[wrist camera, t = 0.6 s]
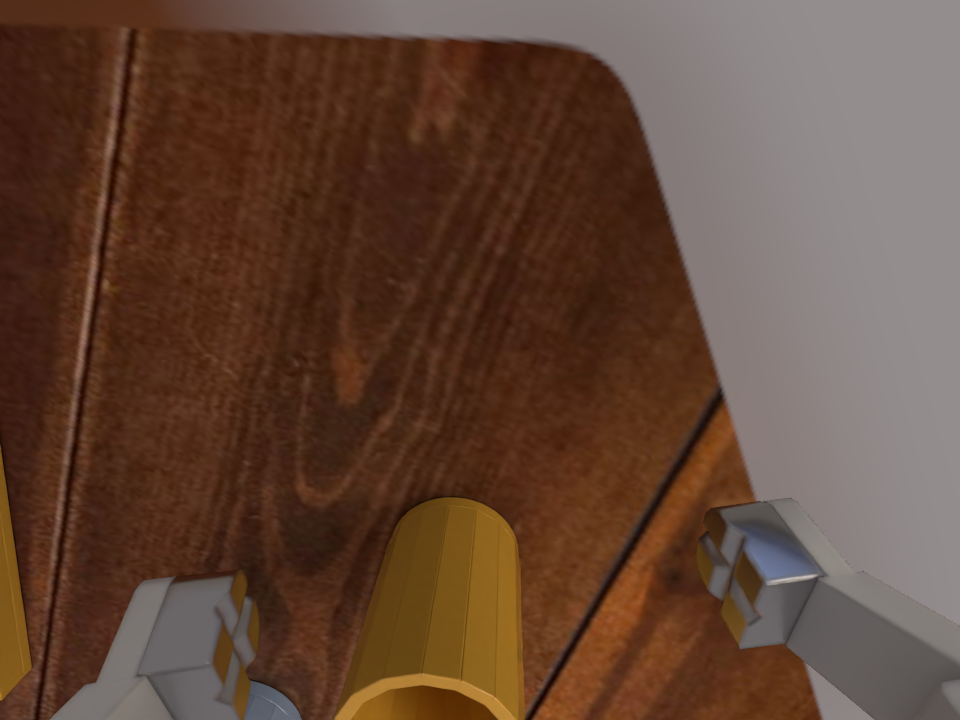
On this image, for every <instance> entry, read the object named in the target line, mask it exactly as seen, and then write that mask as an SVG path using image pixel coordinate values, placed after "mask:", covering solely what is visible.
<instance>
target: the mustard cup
mask: <svg viewBox="0 0 960 720" xmlns="http://www.w3.org/2000/svg"><path fill="white" fill-rule="evenodd" d="M334 720H525V706H524V673H523V640H522V607H521V574H520V560H519V549H518V543H517V540H516V537H515V534H514V533H513V531H512V529H511V527H510V526H509V524H508V523H507V522H506V521H505V520H504V519H503V517H502V516H500V515H499V514H498V513H497V512H496V511H494V510H493V509H491V508H490V507H488V506H486V505H484V504H482V503H479V502H477V501H474V500H470V499H466V498H458V497H444V498H437V499H433V500H429V501H426V502H424V503H421V504H419V505H418V506H416V507H414V508H413V509H411V510H410V511H408V512H407V513H406V514H405V515H404V516H403V517H402V518H401V520H400V521H399V522H398V523H397V525H396V527H395V529H394V531H393V534H392V536H391V539H390V540H389V543H388V546H387V549H386V552H385V556H384V559H383V562H382V565H381V569H380V572H379V575H378V578H377V581H376V585H375V588H374V591H373V594H372V598H371V601H370V604H369V607H368V610H367V614H366V617H365V620H364V623H363V626H362V630H361V633H360V636H359V639H358V643H357V646H356V649H355V652H354V655H353V659H352V662H351V665H350V668H349V672H348V675H347V678H346V681H345V684H344V688H343V691H342V694H341V697H340V701H339V704H338V707H337V710H336V713H335V717H334Z"/></svg>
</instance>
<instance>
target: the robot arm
mask: <svg viewBox="0 0 960 720" xmlns="http://www.w3.org/2000/svg"><path fill="white" fill-rule="evenodd" d="M703 523H704V525H705V527H706V529H707V530H708V531H707V532H705V533H704V534H703V535H702V536H701V537H700V538H699V539H698V542H697V547H696V551H695V553H696V562H697V568H698V571H699V574H700V576H701V579H702V581H703V583H704V585H705V587H706V589H707V591H708V592H710V593H711V594H713V595H714V596H715V597H717V598H718V599H720V600H721V601H722V605H721V611H720V615H721V616H722V618H723V620H724V622H725V624H726V625H727V627H728V629H729V631H730V633H731V635H732V636H733V638H734V640H735V642H736V644H737V645H738V647H739V649H743V648H751V647H759V646H767V645H775V644H783V643H787V644H786V646H787V647H788V648H789V649H790V650H791V651H793V652H794V653H795V654H796V655H797V656H799V657H800V658H801V659H802V660H803V661H805V662H806V663H807V664H808V665H809V666H811V667H812V668H813V669H814V670H816V671H817V672H818V673H819V674H820V675H822V676H823V677H824V678H825V679H826V680H828V681H829V682H830V683H831V684H832V685H834V686H835V687H836V688H837V689H838V690H840V691H841V692H842V693H843V694H844V695H846V696H847V697H848V698H849V699H850V700H852V701H853V702H854V703H855V704H856V705H858V706H859V707H860V708H861V709H862V710H864V711H865V712H866V713H867V714H868V715H870V716H871V717H872V718H873V719H875V720H960V626H959V625H957V624H956V623H954V622H952V621H951V620H949V619H947V618H945V617H943V616H942V615H940V614H938V613H936V612H935V611H933V610H931V609H929V608H927V607H926V606H924V605H922V604H921V603H919V602H917V601H915V600H913V599H912V598H910V597H908V596H906V595H905V594H903V593H901V592H899V591H897V590H896V589H894V588H892V587H891V586H889V585H887V584H885V583H883V582H882V581H880V580H878V579H876V578H875V577H873V576H871V575H869V574H868V573H866V572H864V571H862V572H855V571H854V570H853V568H852V567H851V566H850V565H849V564H848V563H847V561H846V560H845V559H844V557H843V556H842V555H841V554H840V553H839V552H838V550H837V549H836V548H835V547H834V545H833V544H832V543H831V542H830V540H829V539H828V538H827V537H826V536H825V535H824V533H823V532H822V531H821V530H820V528H819V527H818V526H817V525H816V523H815V522H814V521H813V520H812V519H811V517H810V516H809V515H808V514H807V513H806V512H805V510H804V509H803V508H802V507H801V505H800V504H799V503H798V502H797V501H795V500H793V499H792V498H785V499H777V500H770V501H764V502H761V501H757V502H750V503H743V504H736V505H729V506H723V507H716V508H711V509H709V510H708V511H707V512H706V514H705V517H704V521H703ZM247 585H248V581H247V578H246V576H245V574H244V572H243V570H235V571H225V572H215V573H205V574H196V575H186V576H176V577H168V578H160V579H151V580H143V582H142V583H141V584H140V585H139V586H138V587H137V589H136V590H135V591H134V594H133V596H132V598H131V601H130V603H129V605H128V608H127V610H126V613H125V615H124V617H123V620H122V622H121V624H120V627H119V629H118V632H117V634H116V636H115V639H114V641H113V643H112V646H111V648H110V651H109V653H108V655H107V658H106V660H105V662H104V665H103V667H102V670H101V672H100V674H99V677H98V679H97V681H96V683H91V684H85V685H84V686H83V687H82V688H81V689H80V690H79V691H78V692H77V693H76V694H75V695H74V696H73V697H72V698H71V699H70V700H69V701H68V702H67V703H66V704H65V705H64V706H63V707H62V708H61V709H60V710H59V711H58V712H57V713H56V714H55V715H54V716H53V717H51V718H50V719H49V720H244V718H245V713H246V708H247V702H248V697H249V692H250V687H251V682H250V680H249V678H248V676H247V673H246V671H245V670H246V668H247V667H248V666H249V665H250V664H251V662H252V661H253V660H254V659H255V658H256V656H257V650H258V645H259V639H260V617H259V611H258V607H257V604H256V601H255V599H254V598H252V597H251V596H249V595H247V594H246V590H247Z"/></svg>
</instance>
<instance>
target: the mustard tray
mask: <svg viewBox="0 0 960 720" xmlns="http://www.w3.org/2000/svg"><path fill="white" fill-rule="evenodd" d="M31 668H32V664H31V657H30V650H29V643H28V636H27V629H26V622H25V615H24V608H23V601H22V593H21V586H20V579H19V572H18V565H17V558H16V551H15V544H14V537H13V530H12V523H11V516H10V509H9V502H8V495H7V487H6V480H5V473H4V466H3V459H2V452H1V445H0V700H3V699H4V697H5V696H6V695H7V694H8V693H9V692H10V691H11V690H12V689H13V688H14V687H15V686H16V685H17V684H18V682H19V681H20V680H21V679H22V678H23V676H25V675H26V674H27V673H28V672H29V671H30V670H31Z"/></svg>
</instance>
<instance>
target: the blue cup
mask: <svg viewBox="0 0 960 720" xmlns="http://www.w3.org/2000/svg"><path fill="white" fill-rule="evenodd" d="M250 682H251V687H250V692H249V697H248V702H247V708H246V713H245V718H244V720H302V719H301V716H300V714H299V712H298V710H297V708H296V707H295V706H294V704H293V703H292V702H291V701H290V700H289V699H288V698H287V697H286V696H285V695H283V694H282V693H280V692H279V691H277V690H276V689H274V688H272V687H270V686H267V685H265V684H262V683H259V682H255V681H250Z"/></svg>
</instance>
